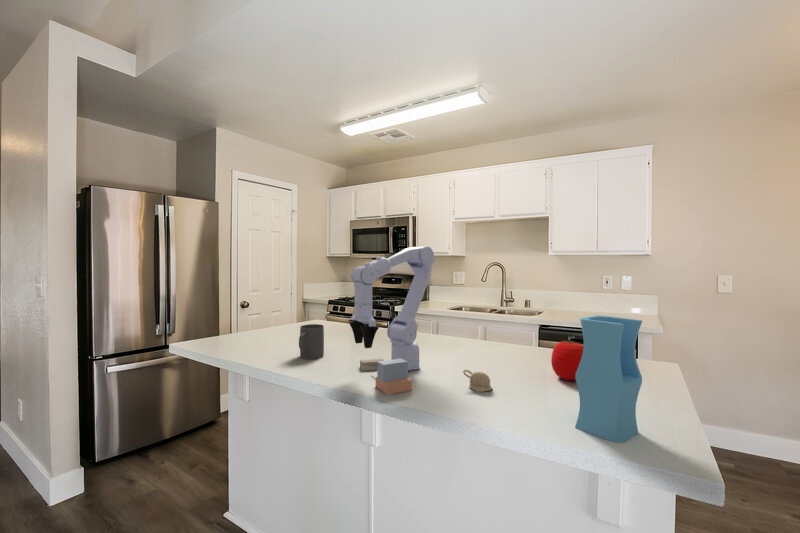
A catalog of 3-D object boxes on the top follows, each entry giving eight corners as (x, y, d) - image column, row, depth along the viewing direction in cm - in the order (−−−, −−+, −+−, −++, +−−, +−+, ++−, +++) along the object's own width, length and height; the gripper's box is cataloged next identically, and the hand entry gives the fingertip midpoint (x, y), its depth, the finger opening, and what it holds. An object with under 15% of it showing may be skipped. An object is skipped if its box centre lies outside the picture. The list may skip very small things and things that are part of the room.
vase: (620, 444, 79) (622, 324, 78) (574, 427, 87) (576, 318, 86) (641, 432, 84) (642, 320, 84) (596, 417, 92) (598, 314, 92)
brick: (360, 368, 134) (360, 359, 134) (382, 366, 136) (382, 358, 136) (362, 371, 130) (362, 362, 130) (384, 369, 132) (384, 361, 132)
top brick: (401, 374, 116) (401, 358, 116) (407, 378, 112) (407, 361, 112) (377, 378, 112) (377, 361, 112) (383, 382, 109) (383, 364, 108)
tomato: (554, 371, 130) (554, 335, 130) (592, 377, 124) (592, 339, 124) (547, 381, 119) (548, 341, 119) (588, 388, 113) (589, 346, 113)
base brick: (399, 382, 118) (399, 372, 118) (411, 390, 111) (412, 379, 111) (375, 386, 114) (375, 376, 114) (387, 394, 107) (387, 384, 107)
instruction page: (392, 372, 128) (392, 371, 128) (401, 377, 123) (401, 376, 123) (371, 375, 124) (371, 374, 124) (379, 381, 119) (379, 380, 119)
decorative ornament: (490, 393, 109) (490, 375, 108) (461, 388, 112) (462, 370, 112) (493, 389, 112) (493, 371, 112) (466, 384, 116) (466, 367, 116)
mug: (307, 353, 155) (307, 323, 154) (328, 354, 152) (328, 324, 152) (288, 361, 142) (288, 329, 141) (310, 363, 139) (310, 330, 139)
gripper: (343, 301, 127) (343, 342, 127) (360, 306, 114) (360, 351, 114) (363, 300, 130) (363, 340, 130) (381, 305, 117) (381, 349, 118)
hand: (363, 345), depth 123 cm, fingers open, 7 cm apart
